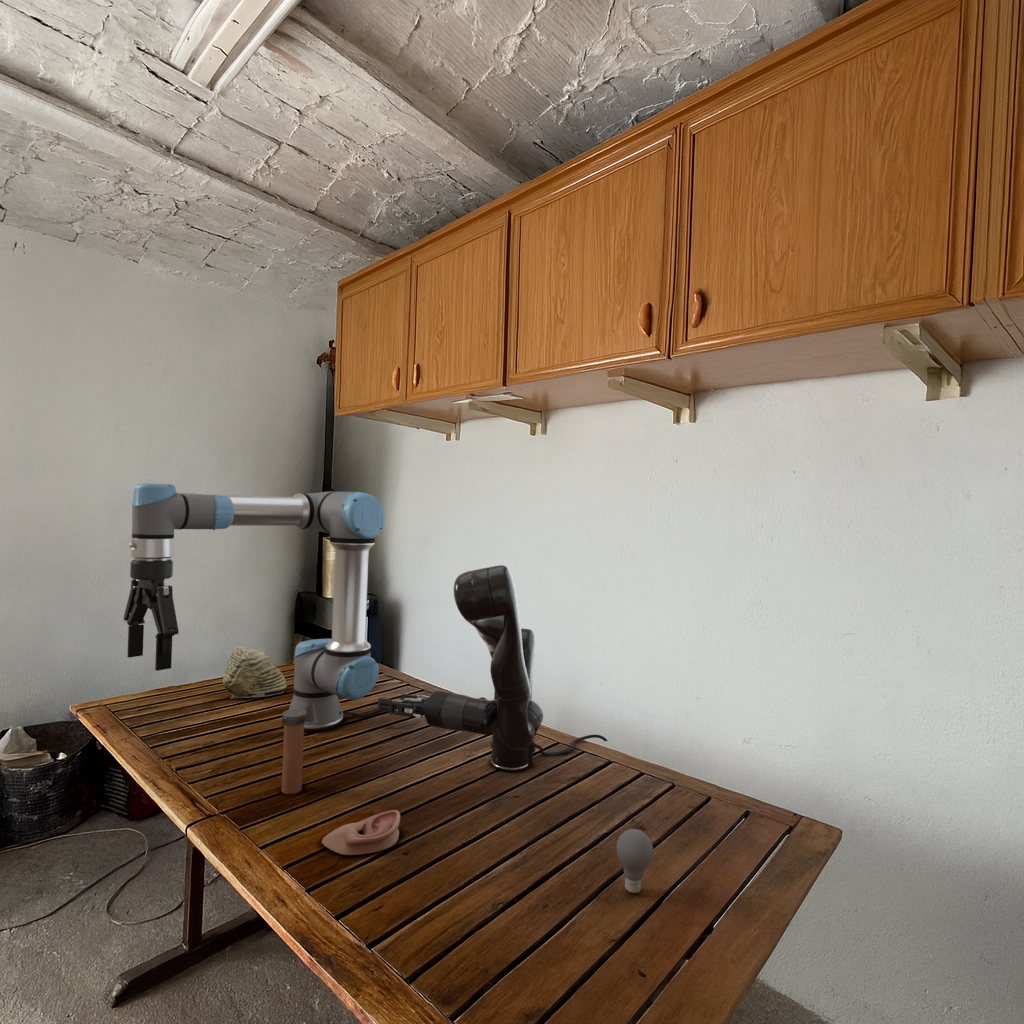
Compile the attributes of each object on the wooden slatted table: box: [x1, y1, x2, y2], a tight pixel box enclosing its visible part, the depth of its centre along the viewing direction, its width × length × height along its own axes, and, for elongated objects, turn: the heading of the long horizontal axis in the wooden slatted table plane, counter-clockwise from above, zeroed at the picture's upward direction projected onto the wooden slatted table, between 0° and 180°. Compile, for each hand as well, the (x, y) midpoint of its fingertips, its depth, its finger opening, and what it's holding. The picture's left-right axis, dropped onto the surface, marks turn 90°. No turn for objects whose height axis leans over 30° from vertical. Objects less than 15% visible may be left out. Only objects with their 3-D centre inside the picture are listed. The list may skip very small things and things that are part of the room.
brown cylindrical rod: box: [281, 723, 305, 795], centre depth 136 cm, size 4×4×16 cm
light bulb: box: [615, 828, 654, 894], centre depth 106 cm, size 6×6×10 cm
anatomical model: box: [321, 809, 401, 856], centre depth 118 cm, size 13×4×12 cm
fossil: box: [222, 646, 288, 699], centre depth 198 cm, size 9×18×15 cm, turn 132°
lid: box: [281, 709, 307, 725], centre depth 136 cm, size 5×5×2 cm
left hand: (148, 662), depth 129 cm, fingers open, 13 cm apart
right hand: (390, 700), depth 143 cm, fingers open, 8 cm apart
